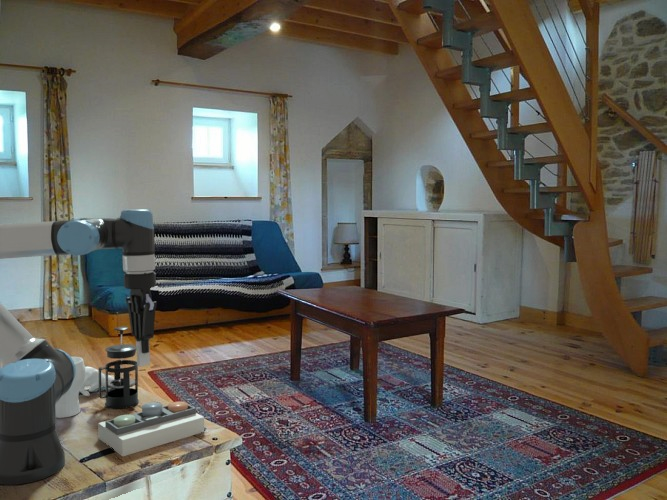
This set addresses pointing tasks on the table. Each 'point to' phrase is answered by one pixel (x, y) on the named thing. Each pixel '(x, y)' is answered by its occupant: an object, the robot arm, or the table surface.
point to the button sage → (124, 420)
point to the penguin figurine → (93, 380)
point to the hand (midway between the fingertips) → (143, 364)
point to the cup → (72, 392)
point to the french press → (122, 391)
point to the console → (151, 430)
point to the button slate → (152, 409)
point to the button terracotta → (177, 407)
